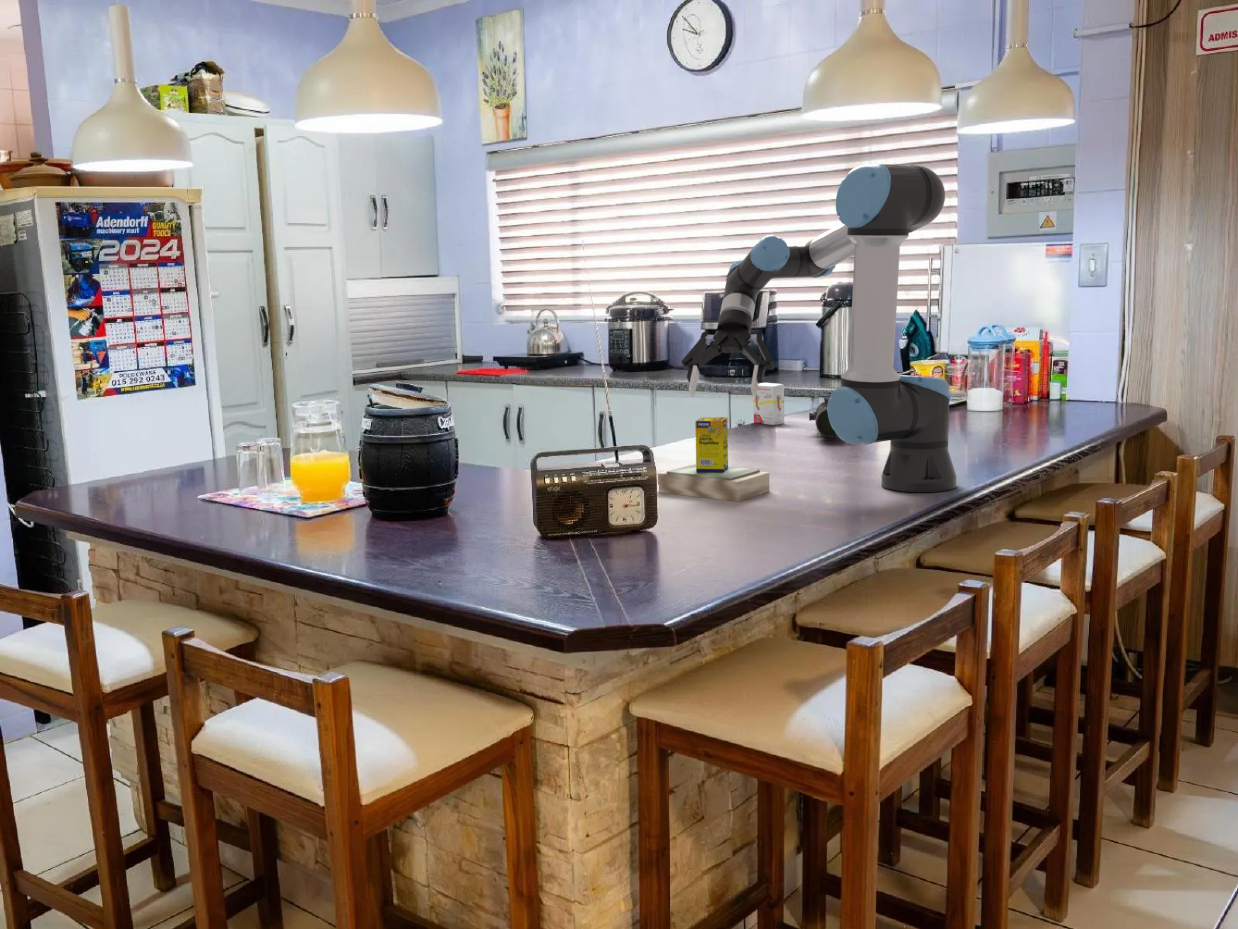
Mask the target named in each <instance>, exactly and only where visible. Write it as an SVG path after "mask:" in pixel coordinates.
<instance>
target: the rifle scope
mask: <svg viewBox="0 0 1238 929" xmlns="http://www.w3.org/2000/svg"><path fill="white" fill-rule="evenodd" d="M829 397H830V396H825V397H823V401H822V402H821V403H819V405H818V406H817V408H816V411H814V412H813V411H812V412H809V415H808V419H809V420H808V421H810V422H811V421H815V426H816V429H817V431H818V433H820V434H821V435H822V438H823V439H824V438H825V439H827V438H834V439H835V438H836V437H838V435H837V434H836V432H835V430H833V428H832V426H831V424H830V421H829V418H828V411H827V406H828V400H829Z"/></svg>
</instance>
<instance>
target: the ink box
mask: <svg viewBox="0 0 1238 929" xmlns="http://www.w3.org/2000/svg"><path fill="white" fill-rule="evenodd" d="M752 399H753V424H759V423H761V424H760V425H768V426H769V425H770V426H775V425H776V426H777V425H782V424H785V385H784V383H783V384H782V383H774V382H772V383H771V382H759V383H758V388H757V394H756V397H753V396H752ZM763 421H765V422H763Z"/></svg>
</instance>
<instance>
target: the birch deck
mask: <svg viewBox="0 0 1238 929" xmlns="http://www.w3.org/2000/svg"><path fill="white" fill-rule="evenodd" d="M658 485H659V492H658V493H666V494H671V493H672V494H673V495H680V496H681V495H682V496H689V497H698V498H707V499H714V500H721V501H722V500H723V501H729V502H730V501H731V502H742V501H743V500H748V499H750V498H753V497H757V496H760V495H762V494H765V493H769V492H770V472H769V471H761V470H760V469H756V468H745V467H736V466H728V468H727V469H726V470H725V471H724V472H723V473H711V472H696V463H692V464H688V465H684V466H680V467H676V468H673V469H669V470H665V471H661V472H658V473H657V486H658ZM672 494H671V495H672Z"/></svg>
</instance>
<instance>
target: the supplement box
mask: <svg viewBox="0 0 1238 929" xmlns="http://www.w3.org/2000/svg"><path fill="white" fill-rule="evenodd" d="M728 420H729V419H728V417H726V416H725V417H724V416H717V417H716V416H703V417H702V416H701V417H699V419H697V420H695V464H696V472H711V473H723V472H724V471H725V470H726V469H727V468H728V467H729V447H728V445H729V440H728V436H729V435H728V434H729V431H728V429H729V428H728V427H729V426H728V423H729V421H728Z"/></svg>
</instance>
